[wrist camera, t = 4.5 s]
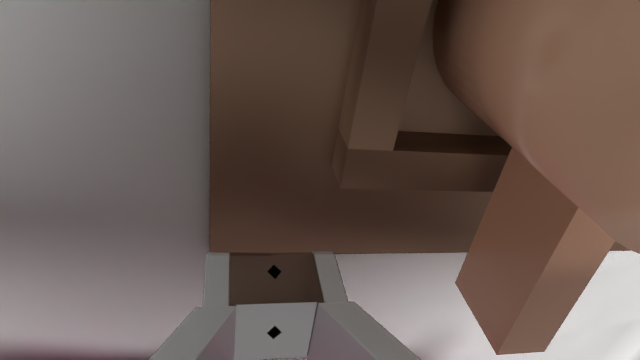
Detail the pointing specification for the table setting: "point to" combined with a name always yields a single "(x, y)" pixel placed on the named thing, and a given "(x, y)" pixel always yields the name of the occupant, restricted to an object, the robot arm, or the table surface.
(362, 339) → the robot arm
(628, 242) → the toggle lever handle
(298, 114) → the socket board
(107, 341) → the table surface
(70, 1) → the table surface
